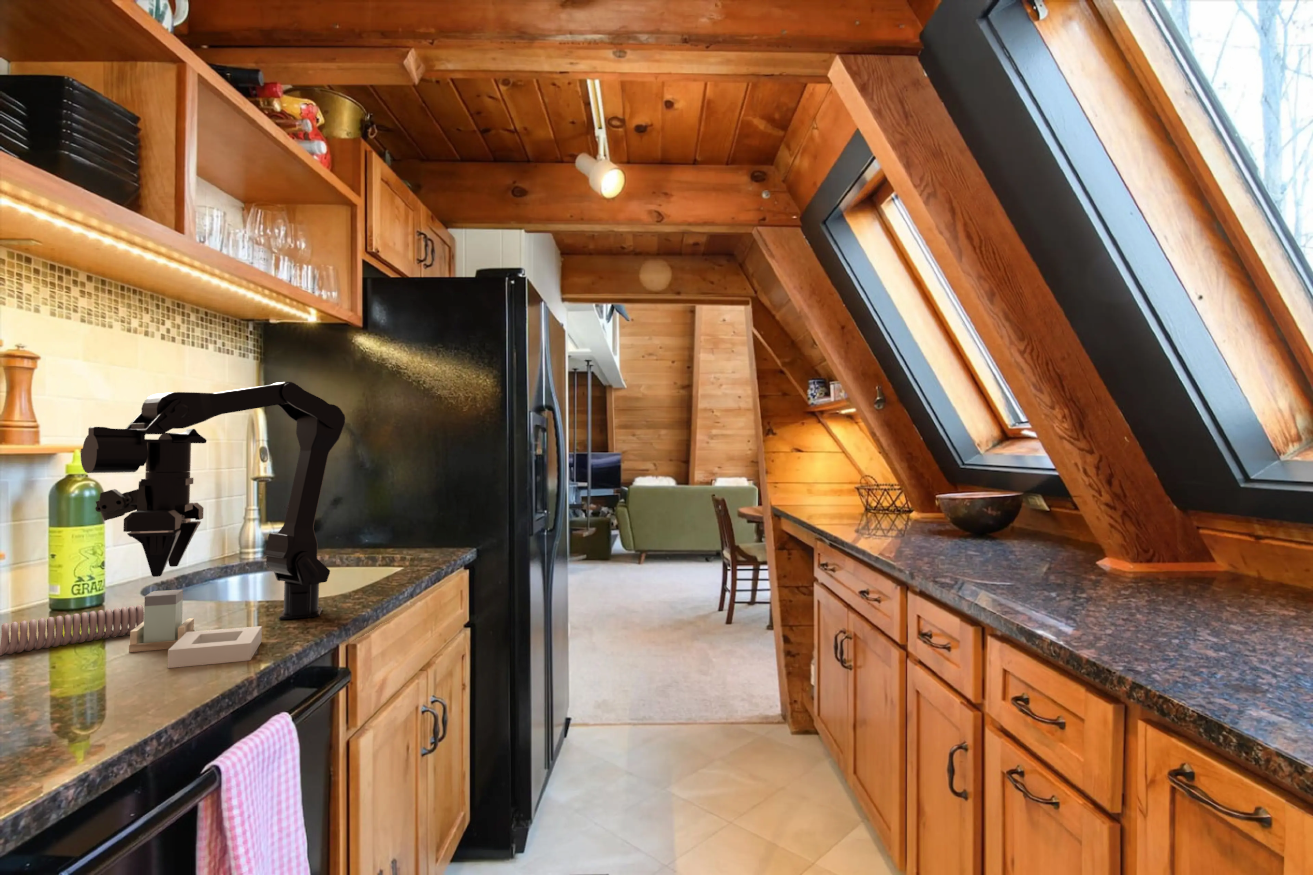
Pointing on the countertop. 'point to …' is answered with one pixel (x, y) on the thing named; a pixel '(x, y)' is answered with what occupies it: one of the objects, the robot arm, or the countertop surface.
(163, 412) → the robot arm
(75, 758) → the countertop surface
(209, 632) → the plate
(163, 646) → the light brown square holder
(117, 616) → the coil
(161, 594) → the plug
